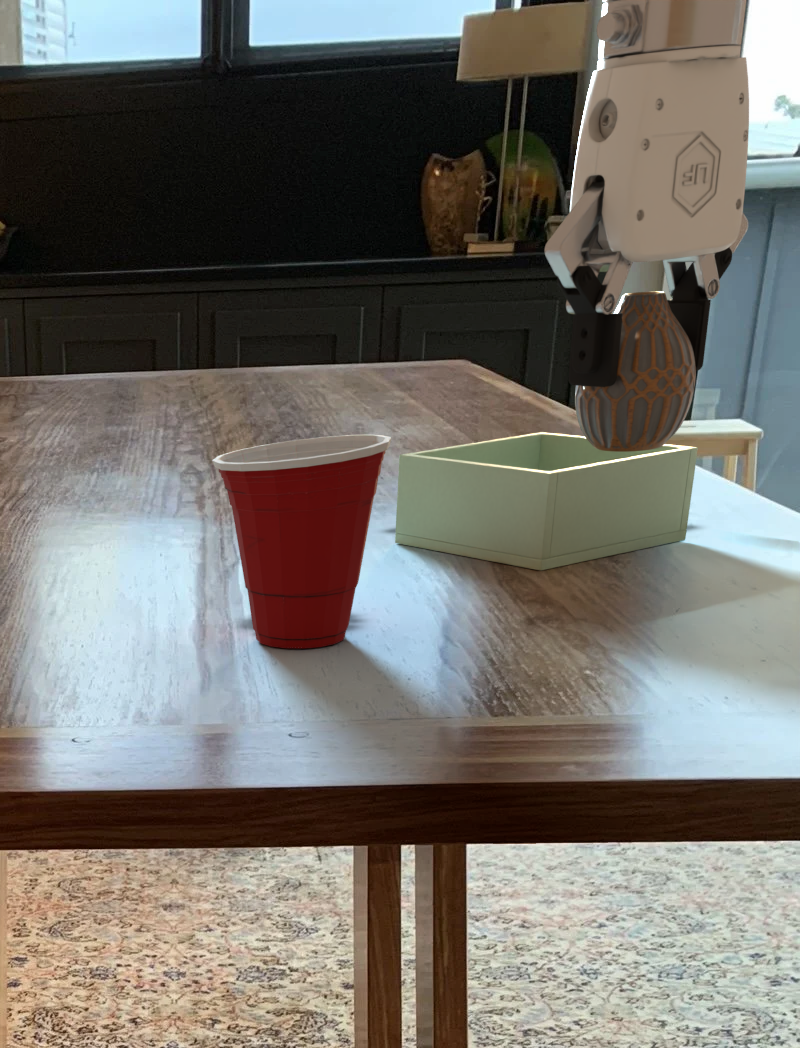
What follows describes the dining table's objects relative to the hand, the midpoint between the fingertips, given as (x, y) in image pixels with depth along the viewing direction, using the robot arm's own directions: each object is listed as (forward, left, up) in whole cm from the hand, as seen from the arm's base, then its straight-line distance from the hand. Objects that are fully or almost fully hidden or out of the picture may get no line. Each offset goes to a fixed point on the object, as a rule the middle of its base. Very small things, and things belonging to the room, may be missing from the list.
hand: (635, 375), depth 94 cm
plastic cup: (+20, -8, -14) cm, 26 cm away
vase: (0, 0, -4) cm, 4 cm away
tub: (-13, -19, -14) cm, 27 cm away
